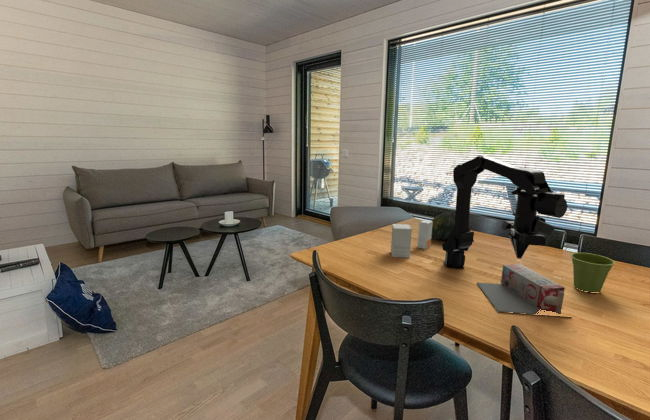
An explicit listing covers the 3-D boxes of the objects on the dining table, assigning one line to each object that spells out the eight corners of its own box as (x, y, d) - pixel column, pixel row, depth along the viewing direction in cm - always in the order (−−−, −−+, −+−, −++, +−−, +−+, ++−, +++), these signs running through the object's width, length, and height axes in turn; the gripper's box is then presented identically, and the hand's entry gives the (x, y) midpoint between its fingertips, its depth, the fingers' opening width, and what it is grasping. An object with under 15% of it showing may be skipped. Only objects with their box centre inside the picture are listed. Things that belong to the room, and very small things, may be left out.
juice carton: (500, 283, 120) (550, 315, 98) (503, 264, 118) (554, 293, 97) (517, 282, 121) (570, 314, 99) (520, 264, 119) (574, 292, 98)
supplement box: (407, 252, 151) (409, 224, 148) (409, 258, 143) (412, 228, 141) (390, 251, 151) (392, 223, 149) (391, 257, 144) (393, 228, 141)
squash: (420, 224, 178) (435, 206, 166) (445, 223, 182) (460, 206, 171) (430, 248, 170) (446, 231, 158) (455, 247, 174) (473, 230, 163)
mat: (497, 312, 100) (497, 310, 100) (476, 283, 120) (476, 282, 120) (571, 318, 98) (571, 316, 98) (538, 288, 118) (538, 286, 118)
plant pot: (566, 279, 125) (572, 250, 123) (608, 289, 118) (615, 257, 116) (563, 290, 116) (569, 258, 114) (608, 301, 109) (615, 267, 107)
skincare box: (425, 249, 155) (428, 223, 152) (416, 247, 158) (419, 222, 155) (430, 246, 160) (433, 221, 157) (422, 244, 162) (424, 219, 160)
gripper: (570, 219, 98) (561, 271, 101) (539, 205, 116) (532, 250, 119) (529, 217, 99) (521, 268, 102) (504, 204, 117) (498, 248, 120)
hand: (518, 258), depth 111 cm, fingers closed
